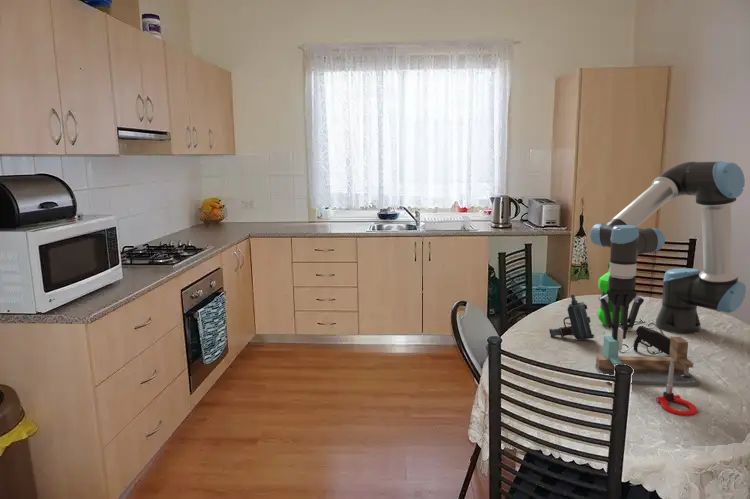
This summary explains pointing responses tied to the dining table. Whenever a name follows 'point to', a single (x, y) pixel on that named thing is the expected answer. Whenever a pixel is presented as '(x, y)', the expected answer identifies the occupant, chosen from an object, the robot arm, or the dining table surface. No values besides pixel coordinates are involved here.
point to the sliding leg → (611, 349)
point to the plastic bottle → (603, 286)
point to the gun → (575, 322)
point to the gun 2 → (652, 339)
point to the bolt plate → (656, 377)
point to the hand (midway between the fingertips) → (618, 348)
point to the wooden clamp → (655, 359)
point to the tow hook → (674, 397)
